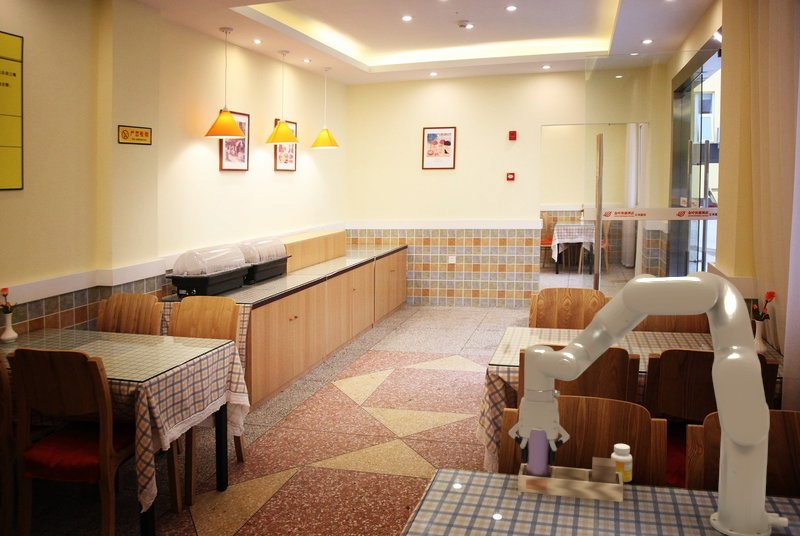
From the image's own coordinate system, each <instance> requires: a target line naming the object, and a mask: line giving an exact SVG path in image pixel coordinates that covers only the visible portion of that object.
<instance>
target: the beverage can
mask: <svg viewBox="0 0 800 536" xmlns="http://www.w3.org/2000/svg"><path fill="white" fill-rule="evenodd" d="M544 430H545V429H536V428H532V431H531V432H530V438H528V441H527V443H526V444H527V463H526V464H527V473H526V476H536V477H546V478H550V449H551V446H550V443H549V440H548V439H547V434H546V432H545V431H544Z"/></svg>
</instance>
